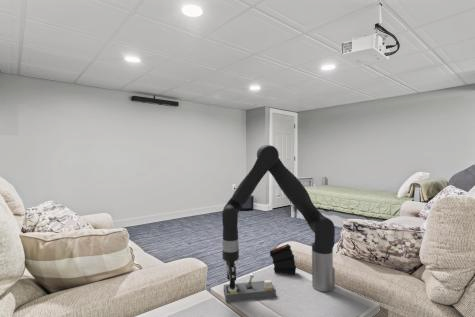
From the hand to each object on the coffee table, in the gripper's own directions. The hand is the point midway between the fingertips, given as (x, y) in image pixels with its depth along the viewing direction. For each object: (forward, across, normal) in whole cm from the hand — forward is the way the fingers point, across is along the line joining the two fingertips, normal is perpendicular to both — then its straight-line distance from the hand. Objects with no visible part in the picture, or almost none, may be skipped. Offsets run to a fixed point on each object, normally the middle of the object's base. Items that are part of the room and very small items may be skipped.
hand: (230, 283), depth 121 cm
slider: (0, -7, -16) cm, 17 cm away
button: (+3, -4, 0) cm, 5 cm away
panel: (+3, -4, -8) cm, 9 cm away
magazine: (+4, +13, -30) cm, 32 cm away
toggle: (-1, -4, -8) cm, 9 cm away
